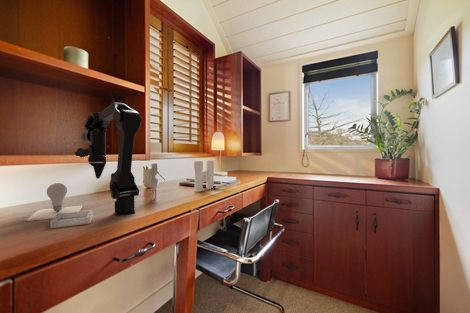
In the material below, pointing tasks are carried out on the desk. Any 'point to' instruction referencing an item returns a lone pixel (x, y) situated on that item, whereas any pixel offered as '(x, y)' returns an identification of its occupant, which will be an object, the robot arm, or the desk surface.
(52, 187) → the lightbulb
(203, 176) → the binoculars
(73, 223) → the grey flat square frame
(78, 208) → the mat
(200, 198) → the desk surface
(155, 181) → the human figurine
